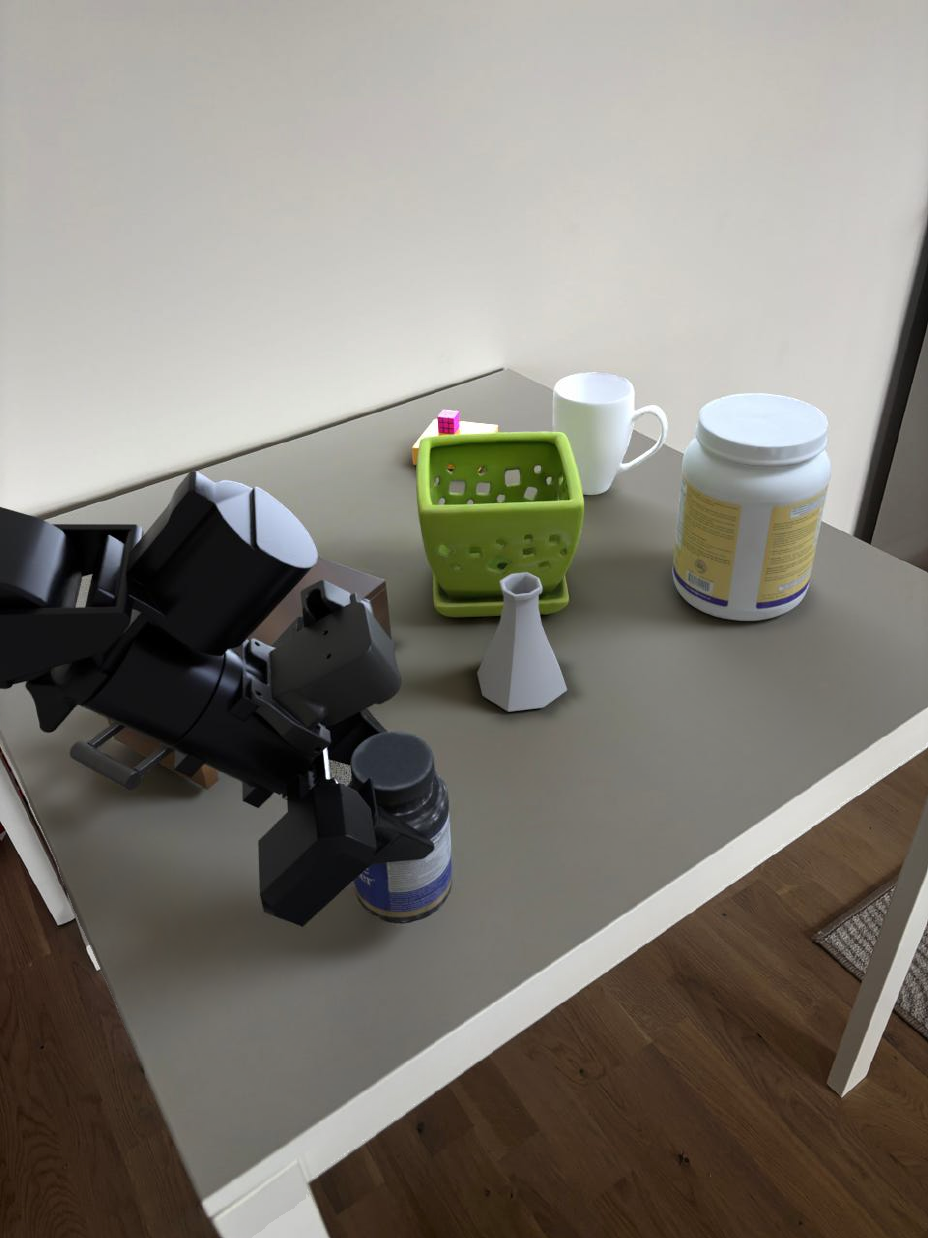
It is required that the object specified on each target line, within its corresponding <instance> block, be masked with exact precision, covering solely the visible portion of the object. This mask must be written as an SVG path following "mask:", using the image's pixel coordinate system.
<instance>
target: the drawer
mask: <svg viewBox="0 0 928 1238" xmlns="http://www.w3.org/2000/svg"><path fill="white" fill-rule="evenodd" d="M106 720H107V722H108V726H107V727H105V728H104V729H102V730H101V731H100V732H99V733H97V734H96V735H95V736H93V737H92V738H91V739H89V740H88V741H87V742H86V741H84V740H79V741H76V742H75V743H73V745H72V746H71V747H70V749H69V756H70V759H72V760H74V761H76V762H77V763H79V764H81V765H83V766H84V767H86V768H88V769H89V770H91V771H93V772H95V773H97V774H98V775H100V776H102V777H103V778H105V779H107V780H109V781H110V782H112V783H114V784H116V785H117V786H119V787H121V788H123V789H125V790H126V791H129V792H133V791H135V790H137V789H138V788H139V786H140V785H141V783H142V780H143V776H144V775H146V774H147V773H148V772H149V771H151V770H152V769H153V768H154V767H155V766H157V765H161V766H163V767H164V768H167V769H168V770H170V771H172V772H173V773H175V774H178V775H179V776H181V777H182V778H185V779H187V780H188V781H190V782H192V783H194V784H196V785H198V786H200V787H201V788H203V789H204V790H209V789H211V788H212V786H214V785H215V784H216V783H218V782H219V780H220V778H219V774H218V770H216V769H214V768H212V767H210V766H208V765H206V764H204V765H203V766H202V767H201V768H200V769H199V770H198V771H197V772H196V773H195V774H194V775H193V776H192V777H189V776H187V775H184V774H182V773H180V772H178V771H176V770H174V762H175V750H174V749H172V748H169V747H167V746H165V745H163V744H161V743H159V742H157V741H155V740H153V739H151V738H149V737H146V736H144V735H142V734H140V733H138V732H136V731H134V730H131V729H129V728H127V727H125V726H123V725H121V724H119V723H117V722H114V721H112V720H110V719H108V718H106ZM112 738H113V740H114V741H116V742H118V743H120V744H122V745H124V746H125V747H127V748H129V749H130V750H133V751H135V752H137V753H138V754H141V755H142V756H144V757H146V758H144V759H143V760H142V761H141V762H139V763H138V764H137V765H135V766H134V767H133V768H132V767H131V766H129V765H127V764H126V763H123V762H122V761H120V760H118V759H116V758H114V757H113V756H111V755H109V754H107V753H105V752H103V751H102V750H100V749H98V748H99V747H101V746H102V745H104V744H105V743H106V742H109V740H111V739H112Z"/></svg>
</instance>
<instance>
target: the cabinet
mask: <svg viewBox="0 0 928 1238" xmlns="http://www.w3.org/2000/svg"><path fill="white" fill-rule="evenodd" d="M320 580H324V581H327V582H329V583H331V584H333V585H335V586H337V587H339V588H341V589H343V590H345V591H347V592H349V593H350V594H351V595H352V594H353V593H356V594H357V595H358V597H359V598H360V599H368V600H369V601H370V602H371V604H372V608H373V613H374V618H375V619H376V621H377V622H378V623H379V625H380V626H381V627H382V629H383V630H384V631H385V633H386V634H387V636H388V637H389V638H390V640H391V641H392V642H393V638H392V631H391V630H392V629H391V617H390V610H389V609H390V608H389V600H388V591H387V582H386V581H387V580H386V579H383V578H380V577H378V576H375V575H371V574H369V573H366V572H364V571H360V570H358V569H355V568H352V567H349V566H346V565H343V564H341V563H338V562H335V561H332V560H329V559H327V558H324V557H321V556H318V559H317V563H316V564H315V565H314V566H313V568H312V569H311V570H310V571H309V572H308V573H307V574H306V575H305V576H304V577H303V578H302V580H301V581H300V582H299V583H298V584H297V585H296V586H295V587H294V588H293V589H292V590H291V592H290V593H289V594H288V595H287V596H286V597H285V598H284V599H283V600H282V601H281V602H280V604H279V605H278V606H277V607H276V608H275V609H274V610H273V611H272V612H271V613H270V614H269V616H268V617H267V618H266V619H265V620H264V621H263V622H262V623H261V624H260V625H259V626H258V628H257V629H256V630H255V631H254V632H253V633H252V634H251V635H250V636H249V637H248V638H247V640H248V641H250V640H251V639H256V640H258V641H260V642H262V643H264V644H265V645H268V646H271V645H272V644H273V643H274V642H275V641H276V640H277V639H278V638H279V637H280V635H281V634H282V633H283V632H284V631H285V630H286V629H287V628H288V627H289V626H290V625H291V624H292V623H293V621H294V620H295V619H296V618H297V617H301V616H303V613H302V604H301V593H300V592H301V591H302V590H303V589H305V588H307V587H309V586H311V585H312V584H314V583H316V582H318V581H320Z"/></svg>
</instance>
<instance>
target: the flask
mask: <svg viewBox="0 0 928 1238" xmlns="http://www.w3.org/2000/svg"><path fill="white" fill-rule="evenodd" d="M500 586H501V590H502V593H503V595H504V604H503V609H502V614H501V616H500V620H499V622H498V625H497V627H496V630H495V632H494V635H493V636H492V639H491V642H490V644H489V647H488V648H487V651H486V652H485V655H484V658H483V659H482V661H481V664H480V665H479V668H478V670H477V673H476V675H477V678H478V683H479V687H480V692H481V695H482V697H484V698H485V699H487V700H489V702H492V703H494V704H495V705H497V706H498V707H499V708H501V709H503V710H504V711H506V712H516V711H517V712H518V711H525V710H533V709H542V708H545V707H547V706H548V705H549V704H550V703H552V702H553V701H555V700H556V699H557V698H559V697H560V696H562V695H563V694H564V693H565V692H567V691H568V688H567V684H566V682H565V679H564V676H563V673H562V670H561V667H560V665H559V663H558V660H557V658H556V656H555V652H554V651H553V649H552V646H551V644H550V641H549V639H548V637H547V634H546V631H545V629H544V627H543V623H542V618H541V614H540V613H539V594H541V593H542V590H543V588H542V585H541V582H540V579H539V578H538V577H536V576H534V575H532V574H530V573H528V572H524V573H515V574H510V575H508V576H507V577H505V578H503V579H502V580H500Z"/></svg>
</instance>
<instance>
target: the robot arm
mask: <svg viewBox="0 0 928 1238" xmlns="http://www.w3.org/2000/svg"><path fill="white" fill-rule="evenodd" d="M318 557H319V553H318V549H317V547H316V543H315V542H314V540H313V538H312V537H311V535H310V533H309V532H308V530H307V529H306V527H305V526H304V525H303V524H302V523H301V521H300V520H299V519H298V518H297V517H296V516H295V514H293V513H292V511H290V509H288V508H287V507H286V505H285V506H284V505H283V503H281V502H280V501H279V500H278V499H276V498H275V497H274V496H272V495H271V494H270V493H268V492H267V491H265V490H263V489H262V488H261V487H258V486H254V487H253V488H252V487H250V486H248V485H246V484H244V483H241V482H238V481H234V480H228V479H222V480H219V481H216V482H215V481H212V480H211V479H209V478H208V477H207V476H205V475H204V474H202V473H201V472H199V471H197V470H194V471H189V472H188V474H187V475H186V476H185V477H184V478H183V480H182V481H181V482H180V483H179V484H178V486H177V487H176V488H175V490H174V492H173V493H172V497H171V499H170V501H169V503H168V504H167V506H166V507H165V508H164V510H163V511H162V512H161V514H160V515H159V516H158V517H157V519H156V520H155V521H154V522H153V523H152V524H151V526H150V527H149V528H148V530H146V532H145V533H144V528H143V527H141V526H140V525H139V524H134V523H133V524H132V523H126V524H125V523H91V524H90V523H51V522H48V521H47V520H46V519H45V520H44V519H41V518H39V517H37V516H34V515H30V514H26V513H24V512H20V511H16V510H12V509H9V508H6V507H3V506H0V690H8V689H11V688H12V687H13V686H14V685H18V684H22V683H25V686H24V687H25V689H26V690H27V692H28V693H29V694H30V696H31V699H32V700H33V703H34V706H35V712H36V716H37V720H38V726H39V729H40V730H41V731H42V732H43V733H45V734H46V733H47V734H51V733H54V732H55V731H56V730H57V729H59V727H60V726H61V725H62V723H63V722H64V721H65V720H66V718H67V717H69V715H70V714H71V713H72V712H73V710H74V709H76V707H78V706H80V707H82V708H85V709H87V710H89V711H91V712H93V713H95V714H97V715H99V716H102V717H104V718H106V719H107V718H108V719H110V720H112V721H114V722H117V723H119V724H121V725H123V726H125V727H127V728H129V729H131V730H134V731H136V732H138V733H140V734H142V735H144V736H146V737H149V738H151V739H153V740H155V741H157V742H159V743H161V744H163V745H165V746H167V747H169V748H172V749H174V750H175V762H174V770H176V771H178V772H180V773H182V774H184V775H187V776H189V777H192V776H193V775H194V774H195V773H196V772H197V771H198V770H199V769H200V768H201V767H202V766H203V765H204V764H206V765H208V766H210V767H212V768H214V769H216V770H217V772H218V771H219V772H221V773H222V774H225V775H227V776H229V777H231V778H233V779H235V780H237V781H240V782H242V784H241V787H242V788H241V789H242V790H241V791H242V802H243V803H246V804H247V805H250V806H252V807H255V808H257V809H260V807H261V806H262V805H264V803H266V801H268V800H269V799H270V797H272V796H273V795H274V794H276V795H277V796H281V799H282V800H285V801H286V802H287V806H286V807H287V812H286V813H285V814H284V815H283V816H282V817H281V818H280V819H279V820H278V821H277V822H276V823H275V824H273V826H272V827H271V828H270V829H269V830H267V831H266V832H265V833H264V834H263V836H261V837H260V838H259V840H258V843H257V844H258V845H257V846H258V881H259V882H258V883H259V887H258V888H259V899H260V902H261V906H262V910H263V913H265V914H268V915H270V916H273V917H275V918H278V919H281V920H283V921H285V922H289V923H291V924H293V925H296V926H298V927H301V928H303V927H305V926H306V925H307V924H308V923H309V922H310V921H311V920H312V919H313V918H315V917H316V916H317V915H318V914H319V913H320V912H321V911H322V910H323V909H325V908H326V907H327V906H328V905H329V904H330V903H331V902H332V901H334V899H336V898H337V897H338V896H339V895H340V894H341V893H342V892H344V890H345V889H347V888H348V887H349V886H350V885H351V884H352V883H354V882H353V881H354V880H355V879H356V878H357V877H358V876H359V875H361V874H362V873H363V872H364V871H365V870H366V869H367V868H368V867H369V866H371V864H378V863H388V862H399V861H409V860H419V859H424V858H426V857H427V856H428V855H429V854H430V853H431V852H432V851H434V849H435V847H434V843H433V842H432V841H431V840H430V839H428V838H427V837H426V836H424V835H423V834H422V833H420V832H419V831H418V830H416V829H414V828H413V827H411V826H410V825H408V824H406V823H405V822H403V821H402V820H400V819H398V818H397V817H395V816H394V815H392V814H390V813H389V812H387V811H386V810H384V809H383V808H381V807H379V806H378V805H377V804H376V797H375V791H374V785H373V780H372V778H371V777H369V778H368V779H367V780H366V781H365V782H364V783H363V784H362V785H361V786H360V787H359V788H358V789H357V790H356V791H355V790H353V789H351V788H349V787H347V786H348V785H345V784H343V783H341V782H340V781H339V780H338V779H336V778H334V777H331V771H330V761H332V762H335V763H339V764H344V765H347V766H350V761H351V757H352V754H353V752H354V750H355V749H356V748H357V747H358V745H360V744H361V743H362V742H363V741H365V740H366V739H368V738H369V737H372V736H374V735H377V734H379V733H384V732H389V731H388V730H387V729H386V728H385V727H384V726H383V725H382V723H381V722H380V721H379V720H378V719H377V718H376V717H375V715H373V713H372V712H371V711H370V710H369V709H368V708H369V707H372V706H373V705H381V704H384V703H386V702H388V701H390V700H391V699H393V697H395V696H396V695H397V693H398V692H400V689H401V688H402V685H403V684H402V683H403V680H402V679H403V678H402V674H401V672H400V670H399V666H398V662H397V657H396V646H395V644H394V642H393V640H392V641H391V640H390V638H389V637H388V636H387V634H386V633H385V631H384V630H383V629H382V627H381V626H380V625H379V623H378V622H377V621H376V619H375V618H374V613H373V608H372V604H371V602H370V601H369V600H368V599H360V598H359V597H358V595H357V594H356V593H353V594H352V595H351V594H350V593H349V592H347V591H345V590H343V589H341V588H339V587H337V586H335V585H333V584H331V583H329V582H327V581H324V580H320V581H318V582H316V583H314V584H312V585H311V586H309V587H307V588H305V589H303V590H302V591H301V592H300V593H301V604H302V613H303V616H301V617H297V618H296V619H295V620H294V621H293V623H292V624H291V625H290V626H289V627H288V628H287V629H286V630H285V631H284V632H283V633H282V634H281V635H280V637H279V638H278V639H277V640H276V641H275V642H274V643H273V644H272V645H271V646H268V645H265V644H264V643H262V642H260V641H258V640H256V639H251V640H250V641H248V640H247V638H248V637H249V636H250V635H251V634H252V633H253V632H254V631H255V630H256V629H257V628H258V626H259V625H260V624H261V623H262V622H263V621H264V620H265V619H266V618H267V617H268V616H269V614H270V613H271V612H272V611H273V610H274V609H275V608H276V607H277V606H278V605H279V604H280V602H281V601H282V600H283V599H284V598H285V597H286V596H287V595H288V594H289V593H290V592H291V590H292V589H293V588H294V587H295V586H296V585H297V584H298V583H299V582H300V581H301V580H302V578H303V577H304V576H305V575H306V574H307V573H308V572H309V571H310V570H311V569H312V568H313V566H314V565H315V564H316V563H317V559H318ZM87 576H91V578H90V582H89V587H88V592H87V597H86V602H85V606H84V607H83V606H79V607H78V606H77V602H78V599H79V595H80V591H81V586H82V581H83V577H84V578H85V577H87Z"/></svg>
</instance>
